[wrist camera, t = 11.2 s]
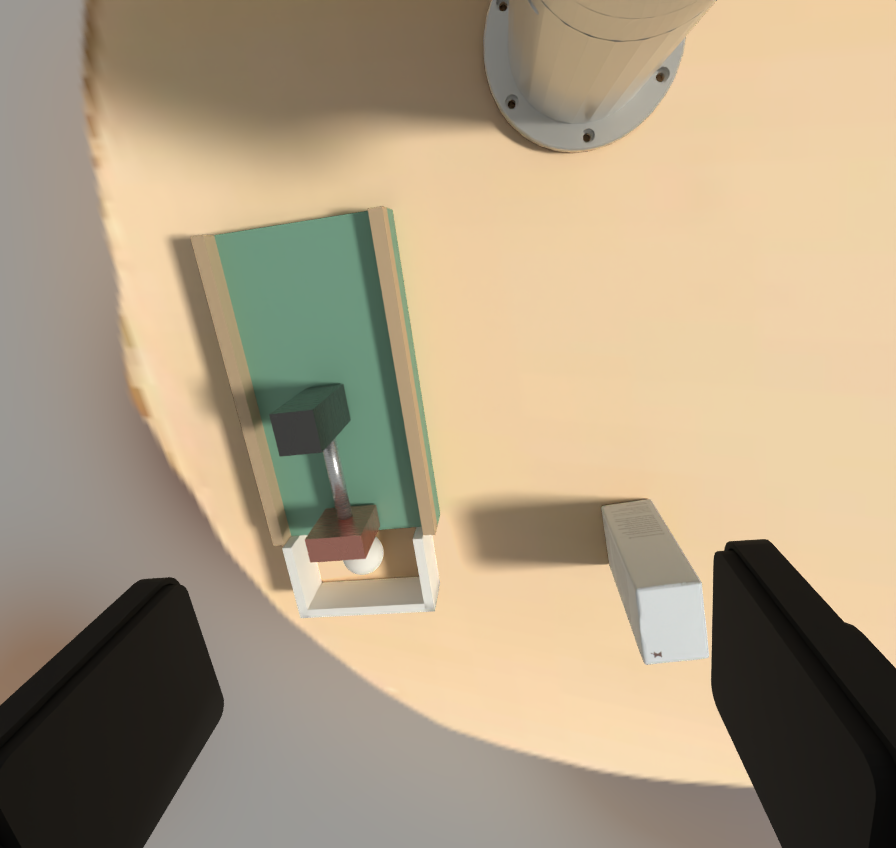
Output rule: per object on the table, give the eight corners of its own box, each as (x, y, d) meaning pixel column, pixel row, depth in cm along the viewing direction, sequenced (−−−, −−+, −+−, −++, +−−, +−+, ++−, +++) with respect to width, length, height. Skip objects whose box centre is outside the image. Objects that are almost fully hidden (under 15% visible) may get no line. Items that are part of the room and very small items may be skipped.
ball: (352, 565, 48) (346, 527, 48) (390, 562, 48) (384, 525, 47) (339, 583, 45) (333, 542, 44) (380, 580, 44) (374, 539, 44)
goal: (299, 524, 48) (282, 548, 44) (428, 514, 46) (422, 538, 42) (315, 590, 50) (300, 618, 46) (440, 582, 48) (434, 611, 44)
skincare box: (658, 558, 45) (710, 661, 34) (608, 564, 46) (642, 667, 35) (651, 495, 44) (704, 582, 32) (599, 503, 44) (632, 590, 33)
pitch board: (215, 237, 40) (189, 236, 37) (392, 209, 38) (381, 206, 35) (289, 525, 48) (273, 546, 45) (440, 514, 46) (435, 534, 43)
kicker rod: (298, 388, 41) (259, 415, 35) (352, 382, 41) (322, 408, 34) (330, 529, 45) (300, 577, 38) (380, 525, 44) (358, 574, 38)
